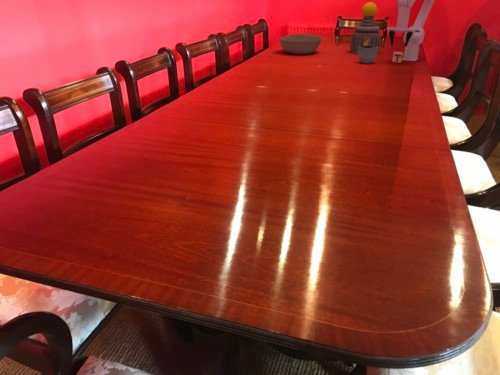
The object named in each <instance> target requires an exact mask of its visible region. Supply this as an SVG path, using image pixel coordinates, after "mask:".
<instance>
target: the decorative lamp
mask: <svg viewBox="0 0 500 375" xmlns="http://www.w3.org/2000/svg"><path fill="white" fill-rule="evenodd" d="M377 12H378V8H377V5H376V3H375V2H371V1H369V2H366V3H365V4H364V5H363V6H362V8H361V13H362V20H361V22H360V25H356V26H355V27H354V30H353V32H352V34H351V37H350V41H349V42H350V45H349V49H350V53H352V54H355V55H358V46H365V45H372V46H376V47H379V49H378V52H379V51H380V50H381V44H382V35H381V33H382V32H381V31H380V29H381V28H380V26H378V25H375V15H376V14H377Z"/></svg>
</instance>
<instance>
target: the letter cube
mask: <svg viewBox="0 0 500 375" xmlns="http://www.w3.org/2000/svg"><path fill="white" fill-rule="evenodd" d="M403 56H404V53H403V52H401V51H394V52H393V54H392V61H391V62H392V63H402V61H403V60H402V59H403Z"/></svg>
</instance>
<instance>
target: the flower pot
mask: <svg viewBox="0 0 500 375" xmlns="http://www.w3.org/2000/svg"><path fill="white" fill-rule="evenodd" d="M378 49H379V47H376V46H372V45H365V46H358V54H357V57H358V61H359V62H360V63H363V64H372V63H374V62H375V60H376V58H377V57H378V53H379V51H378ZM379 50H380V49H379Z"/></svg>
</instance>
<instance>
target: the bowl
mask: <svg viewBox="0 0 500 375" xmlns="http://www.w3.org/2000/svg"><path fill="white" fill-rule="evenodd" d="M322 40H323V37H321V36H319V35H316V34H315V35H314V34H307V33H305V34H304V33H300V34H299V33H298V34H287V35H285V36H281V37H280V38H279V39H278V42H279V43H280V46H281V48H282V49H283V51H285V52H286V53H289V54H291V55H292V54H293V55H308V54H312V53H314V52H316V51H317V50H318V48H319V47H320V45H321V43H322Z"/></svg>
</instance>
